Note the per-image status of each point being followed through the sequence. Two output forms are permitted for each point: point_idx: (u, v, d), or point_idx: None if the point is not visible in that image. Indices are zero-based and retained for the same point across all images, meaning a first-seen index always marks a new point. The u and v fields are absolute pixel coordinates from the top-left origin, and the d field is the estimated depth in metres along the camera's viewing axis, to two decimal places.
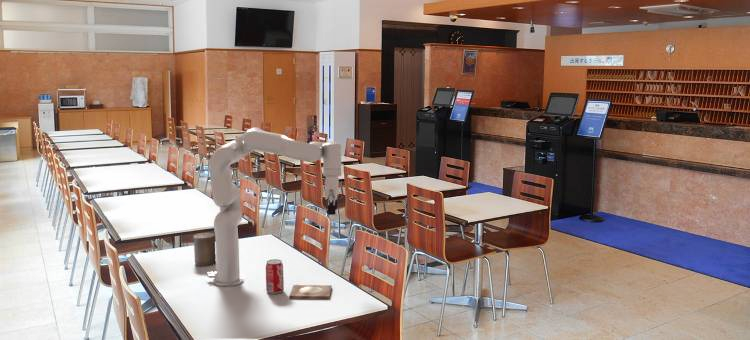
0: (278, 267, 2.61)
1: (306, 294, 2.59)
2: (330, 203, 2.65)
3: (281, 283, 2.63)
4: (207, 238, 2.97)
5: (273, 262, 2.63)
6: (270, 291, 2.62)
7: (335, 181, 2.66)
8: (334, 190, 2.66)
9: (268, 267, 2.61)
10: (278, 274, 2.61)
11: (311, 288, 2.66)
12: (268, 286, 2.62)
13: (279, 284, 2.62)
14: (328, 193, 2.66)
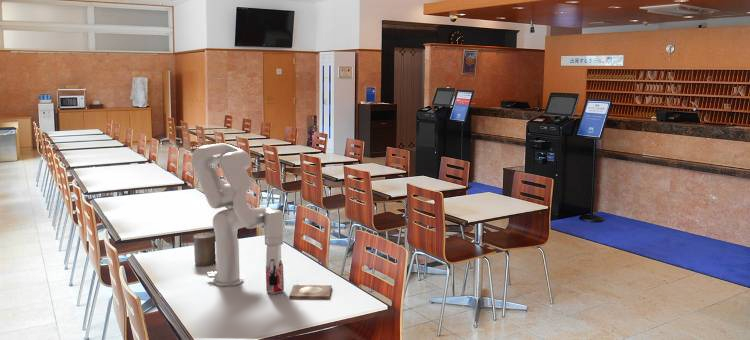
0: (279, 267, 2.61)
1: (306, 294, 2.59)
2: (271, 274, 2.58)
3: (281, 283, 2.63)
4: (207, 238, 2.97)
5: None
6: (270, 291, 2.62)
7: (276, 250, 2.58)
8: (275, 260, 2.58)
9: None
10: (278, 274, 2.61)
11: (311, 288, 2.66)
12: (268, 286, 2.62)
13: (279, 284, 2.62)
14: (269, 264, 2.58)
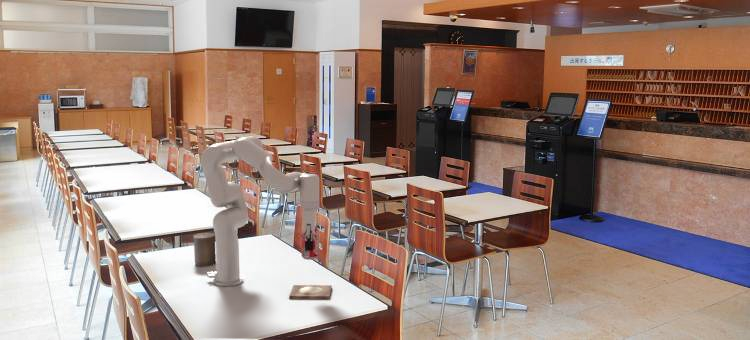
0: (315, 232, 2.57)
1: (306, 294, 2.59)
2: (307, 239, 2.54)
3: (317, 248, 2.59)
4: (207, 238, 2.97)
5: None
6: (306, 256, 2.58)
7: (312, 215, 2.54)
8: (311, 224, 2.54)
9: None
10: (314, 239, 2.57)
11: (311, 288, 2.66)
12: (304, 251, 2.58)
13: (315, 250, 2.58)
14: (305, 229, 2.54)
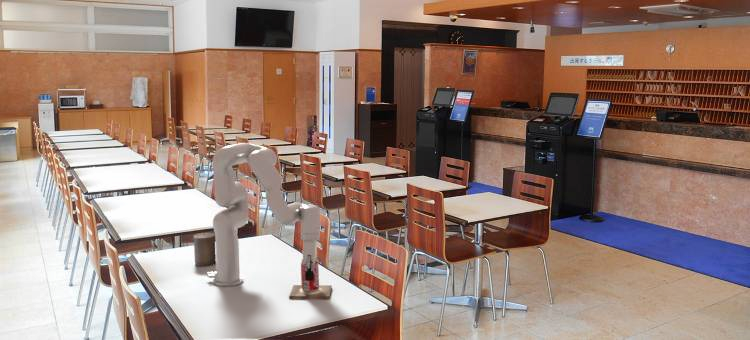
0: (314, 265, 2.59)
1: (306, 294, 2.59)
2: (308, 269, 2.55)
3: (317, 281, 2.61)
4: (207, 238, 2.97)
5: None
6: (306, 289, 2.60)
7: (313, 246, 2.56)
8: (312, 255, 2.56)
9: (304, 265, 2.59)
10: (314, 273, 2.59)
11: None
12: (304, 284, 2.60)
13: (315, 282, 2.60)
14: (306, 258, 2.56)
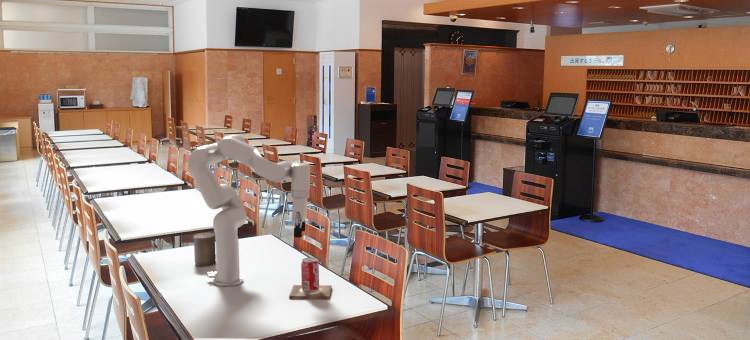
0: (314, 265, 2.59)
1: (306, 294, 2.59)
2: (296, 226, 2.58)
3: (317, 281, 2.61)
4: (207, 238, 2.97)
5: (309, 260, 2.61)
6: (306, 289, 2.60)
7: (302, 203, 2.59)
8: (301, 213, 2.59)
9: (304, 265, 2.59)
10: (314, 273, 2.59)
11: None
12: (304, 284, 2.60)
13: (315, 283, 2.60)
14: (295, 215, 2.59)
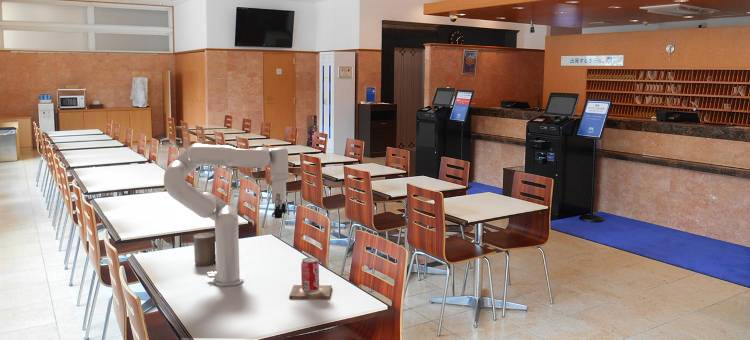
0: (314, 265, 2.59)
1: (306, 294, 2.59)
2: (276, 207, 2.70)
3: (317, 281, 2.61)
4: (207, 238, 2.97)
5: (309, 260, 2.61)
6: (306, 289, 2.60)
7: (281, 185, 2.71)
8: (280, 194, 2.71)
9: (304, 265, 2.59)
10: (314, 273, 2.59)
11: None
12: (304, 284, 2.60)
13: (315, 283, 2.60)
14: (275, 197, 2.71)
